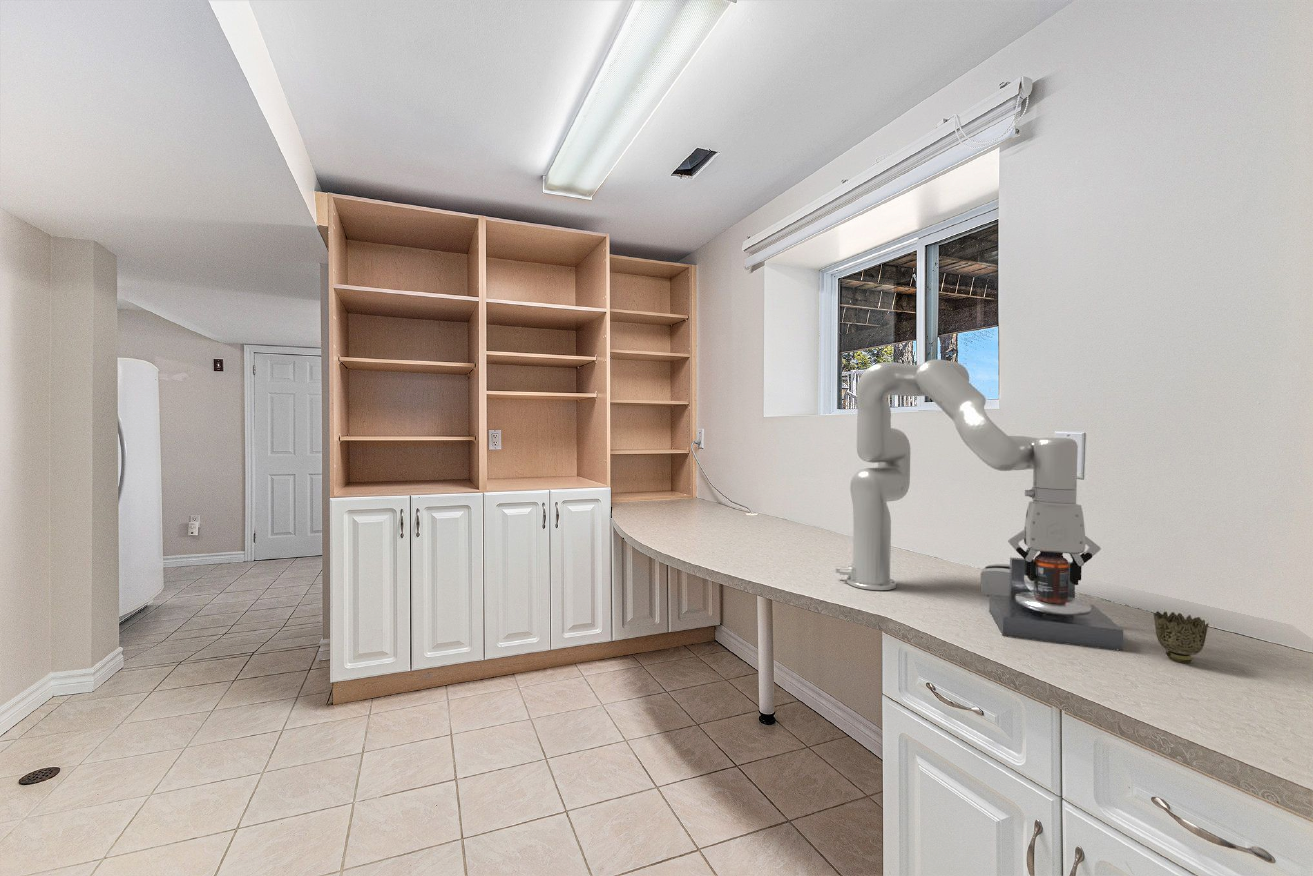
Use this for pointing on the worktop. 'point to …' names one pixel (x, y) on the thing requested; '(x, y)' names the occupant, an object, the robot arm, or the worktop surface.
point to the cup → (1180, 635)
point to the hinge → (995, 580)
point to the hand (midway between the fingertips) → (1052, 580)
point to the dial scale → (1051, 615)
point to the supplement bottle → (1051, 577)
